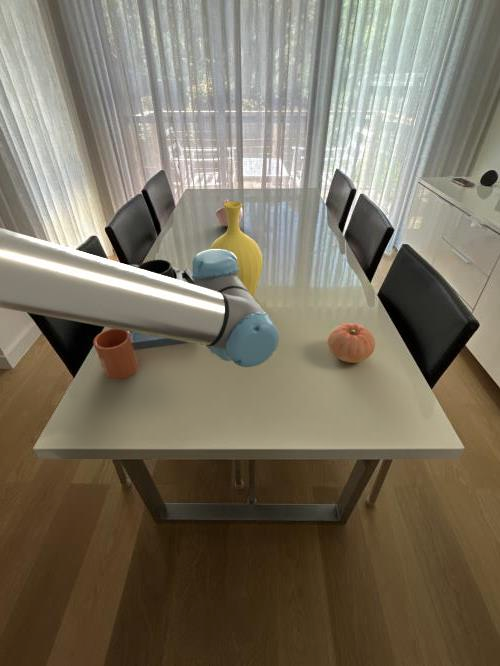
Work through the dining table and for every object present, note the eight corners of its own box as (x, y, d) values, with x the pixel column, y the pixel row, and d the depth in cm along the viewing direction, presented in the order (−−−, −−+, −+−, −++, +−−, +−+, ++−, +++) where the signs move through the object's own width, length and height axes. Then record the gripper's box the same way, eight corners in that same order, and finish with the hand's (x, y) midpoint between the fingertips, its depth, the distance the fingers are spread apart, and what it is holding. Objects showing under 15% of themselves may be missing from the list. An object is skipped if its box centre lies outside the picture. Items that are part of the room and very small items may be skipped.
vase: (231, 279, 114) (227, 192, 97) (271, 293, 106) (275, 201, 89) (199, 300, 103) (188, 206, 86) (241, 317, 96) (239, 218, 79)
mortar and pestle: (234, 220, 161) (233, 194, 154) (247, 227, 153) (247, 201, 146) (211, 224, 156) (210, 199, 149) (224, 232, 147) (223, 206, 141)
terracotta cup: (102, 382, 76) (90, 351, 70) (106, 360, 82) (96, 330, 76) (137, 377, 77) (128, 346, 72) (139, 355, 83) (131, 326, 78)
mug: (149, 287, 90) (140, 254, 84) (185, 296, 85) (178, 262, 79) (127, 303, 84) (116, 269, 78) (165, 314, 80) (156, 279, 74)
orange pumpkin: (380, 356, 82) (387, 329, 78) (353, 377, 77) (360, 350, 72) (343, 335, 89) (348, 310, 84) (316, 353, 83) (320, 327, 78)
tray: (131, 350, 85) (129, 343, 83) (134, 320, 95) (132, 313, 94) (197, 341, 87) (196, 334, 86) (192, 313, 98) (192, 306, 96)
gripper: (149, 344, 67) (107, 298, 81) (234, 307, 78) (184, 272, 92) (142, 313, 63) (99, 270, 77) (233, 278, 73) (180, 246, 87)
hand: (145, 271), depth 84 cm, fingers closed on mug, 8 cm apart
